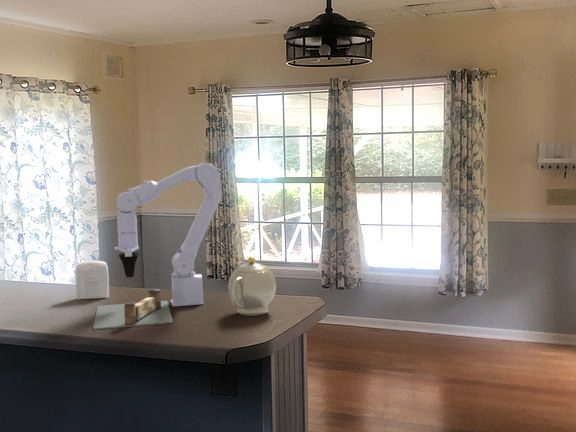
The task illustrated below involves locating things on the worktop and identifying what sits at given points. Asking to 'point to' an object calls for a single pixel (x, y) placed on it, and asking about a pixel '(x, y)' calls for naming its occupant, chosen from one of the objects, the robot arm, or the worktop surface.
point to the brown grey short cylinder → (156, 294)
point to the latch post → (130, 313)
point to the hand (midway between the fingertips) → (129, 276)
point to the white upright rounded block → (92, 280)
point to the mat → (116, 319)
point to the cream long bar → (145, 307)
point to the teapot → (252, 288)
